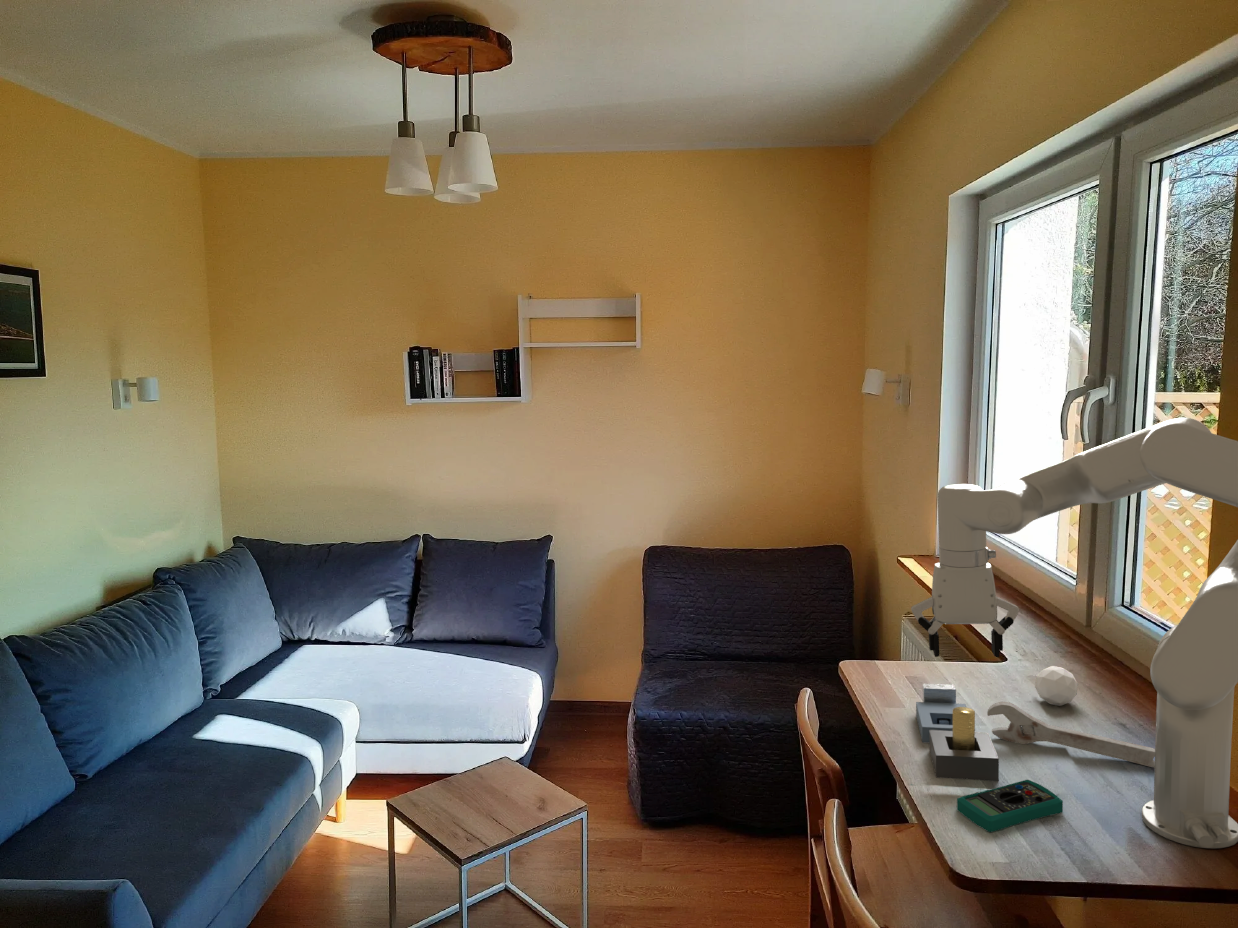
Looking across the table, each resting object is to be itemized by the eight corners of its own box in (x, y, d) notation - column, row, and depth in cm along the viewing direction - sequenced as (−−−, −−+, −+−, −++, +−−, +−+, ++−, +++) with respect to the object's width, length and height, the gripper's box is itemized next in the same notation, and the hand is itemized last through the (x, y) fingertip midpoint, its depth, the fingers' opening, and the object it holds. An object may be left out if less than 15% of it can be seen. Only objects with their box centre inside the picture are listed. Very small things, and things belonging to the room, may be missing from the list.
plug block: (960, 732, 167) (960, 702, 167) (927, 730, 169) (927, 700, 168) (954, 713, 176) (954, 684, 175) (922, 711, 177) (922, 683, 176)
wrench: (1167, 785, 151) (983, 740, 163) (1166, 780, 152) (984, 736, 165) (1175, 743, 149) (988, 701, 162) (1173, 738, 151) (989, 697, 164)
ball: (1045, 716, 179) (1020, 684, 181) (1064, 693, 184) (1038, 662, 185) (1074, 710, 173) (1047, 677, 174) (1093, 686, 177) (1066, 654, 178)
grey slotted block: (998, 786, 148) (998, 758, 147) (936, 782, 150) (935, 754, 149) (988, 758, 157) (988, 732, 157) (929, 755, 160) (929, 729, 159)
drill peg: (976, 770, 151) (976, 716, 150) (954, 769, 152) (954, 715, 151) (972, 760, 155) (972, 707, 153) (951, 759, 156) (951, 706, 154)
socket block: (974, 749, 161) (974, 729, 161) (922, 747, 163) (922, 726, 163) (965, 723, 172) (965, 703, 172) (916, 720, 174) (916, 701, 174)
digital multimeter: (1066, 814, 139) (1067, 796, 139) (988, 836, 134) (989, 817, 134) (1029, 792, 146) (1030, 775, 146) (954, 812, 141) (954, 794, 141)
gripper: (1013, 551, 150) (1015, 647, 152) (907, 553, 154) (911, 647, 156) (1022, 561, 143) (1024, 662, 145) (911, 563, 147) (915, 661, 149)
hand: (965, 654), depth 151 cm, fingers open, 9 cm apart
